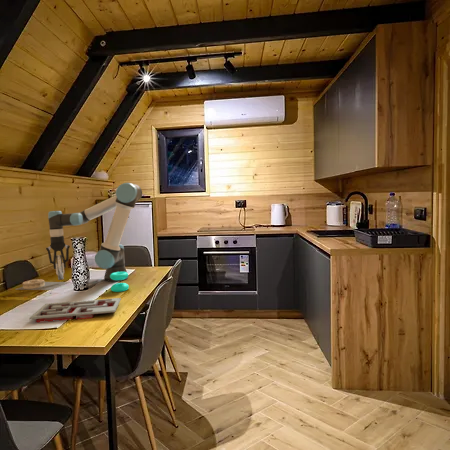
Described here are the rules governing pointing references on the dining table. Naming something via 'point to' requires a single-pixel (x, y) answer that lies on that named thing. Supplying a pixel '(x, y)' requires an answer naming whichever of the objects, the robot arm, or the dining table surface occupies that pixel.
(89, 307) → the maze game
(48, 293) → the dining table surface
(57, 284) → the board
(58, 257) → the peg
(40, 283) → the tan faceted ring
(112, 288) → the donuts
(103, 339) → the dining table surface
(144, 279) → the dining table surface
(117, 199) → the robot arm
